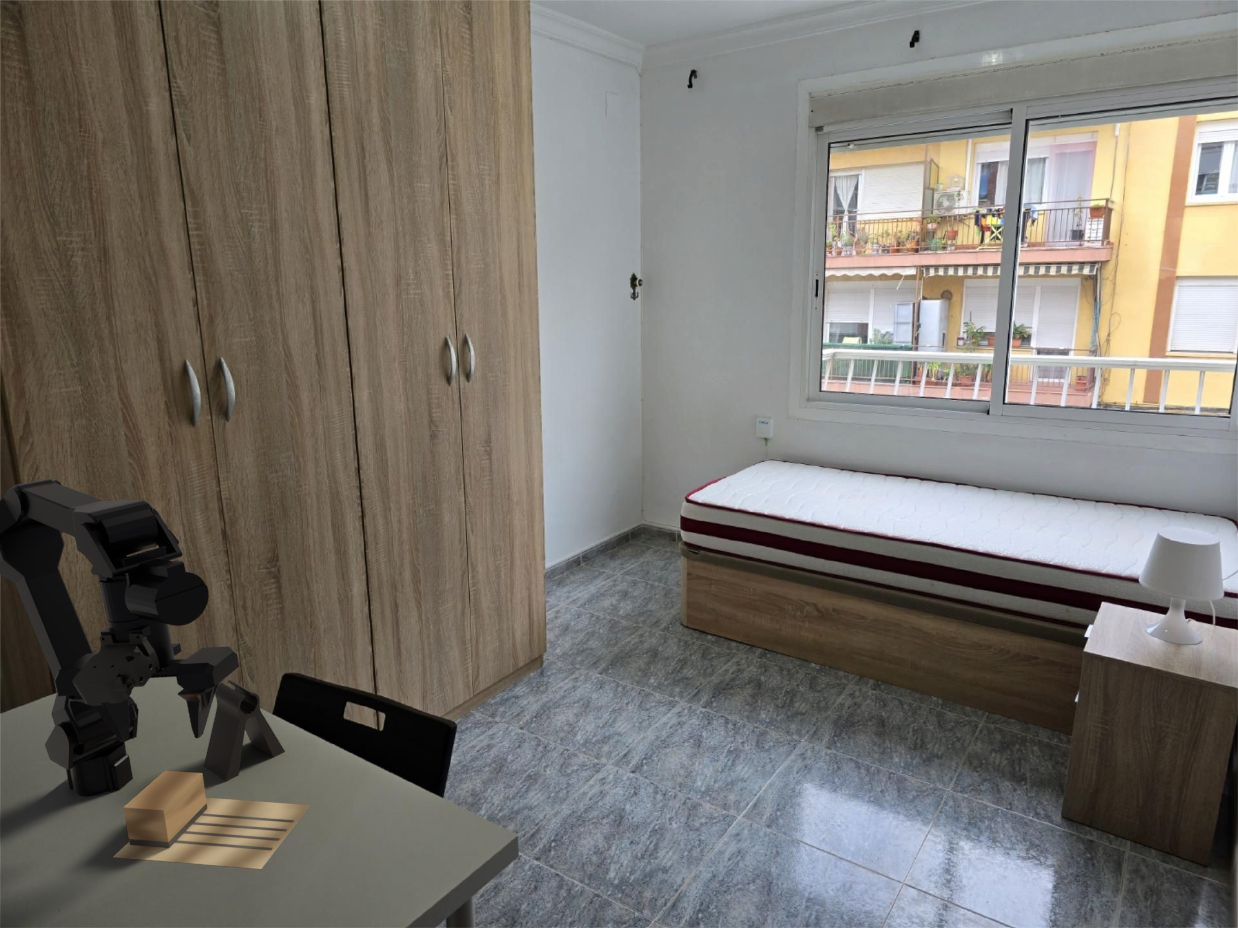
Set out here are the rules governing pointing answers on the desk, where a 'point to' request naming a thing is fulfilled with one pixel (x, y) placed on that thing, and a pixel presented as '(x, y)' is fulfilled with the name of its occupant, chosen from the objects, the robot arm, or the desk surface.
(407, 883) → the desk surface
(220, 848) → the pine board
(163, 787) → the block
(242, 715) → the phone stand
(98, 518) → the robot arm
